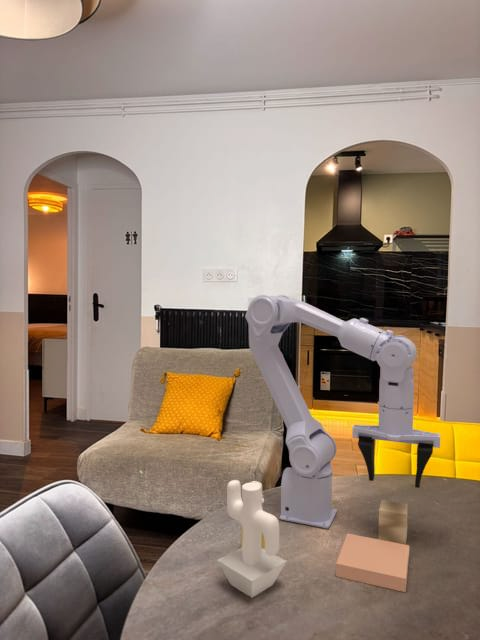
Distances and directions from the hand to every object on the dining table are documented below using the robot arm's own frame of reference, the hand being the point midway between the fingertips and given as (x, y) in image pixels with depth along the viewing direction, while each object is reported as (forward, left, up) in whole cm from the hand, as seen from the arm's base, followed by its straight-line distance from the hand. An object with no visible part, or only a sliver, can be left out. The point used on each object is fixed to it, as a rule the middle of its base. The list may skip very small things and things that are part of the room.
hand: (394, 482), depth 84 cm
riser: (-2, -11, -10) cm, 15 cm away
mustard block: (-23, -13, -8) cm, 27 cm away
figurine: (-18, -23, -10) cm, 31 cm away
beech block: (0, 0, -10) cm, 10 cm away
